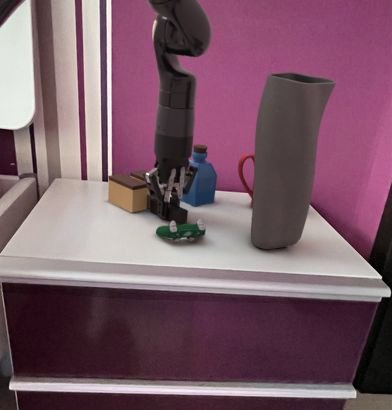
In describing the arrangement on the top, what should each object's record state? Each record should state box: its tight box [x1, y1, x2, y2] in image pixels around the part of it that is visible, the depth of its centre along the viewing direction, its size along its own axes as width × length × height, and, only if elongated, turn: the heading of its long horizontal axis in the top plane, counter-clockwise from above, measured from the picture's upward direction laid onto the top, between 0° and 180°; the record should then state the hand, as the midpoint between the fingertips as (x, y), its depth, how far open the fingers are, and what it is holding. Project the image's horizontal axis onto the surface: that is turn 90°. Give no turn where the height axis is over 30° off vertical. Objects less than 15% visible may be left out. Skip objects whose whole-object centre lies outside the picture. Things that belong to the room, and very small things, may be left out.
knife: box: [146, 193, 189, 225], centre depth 119 cm, size 18×2×3 cm, turn 46°
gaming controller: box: [155, 219, 207, 243], centre depth 107 cm, size 9×4×6 cm
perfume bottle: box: [180, 143, 218, 207], centre depth 125 cm, size 6×6×12 cm
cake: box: [107, 169, 167, 214], centre depth 121 cm, size 10×8×6 cm
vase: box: [250, 71, 337, 250], centre depth 103 cm, size 12×12×30 cm
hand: (168, 216), depth 118 cm, fingers closed on knife, 2 cm apart
